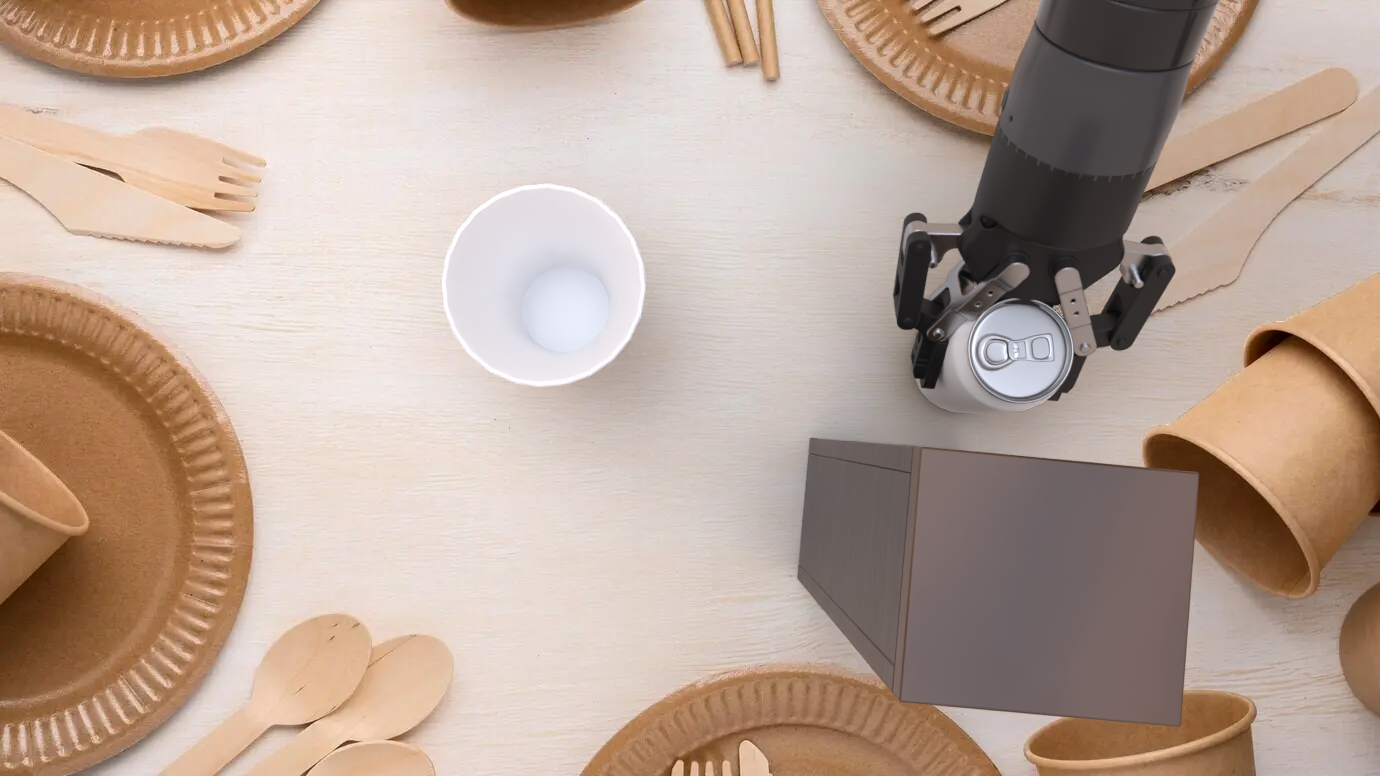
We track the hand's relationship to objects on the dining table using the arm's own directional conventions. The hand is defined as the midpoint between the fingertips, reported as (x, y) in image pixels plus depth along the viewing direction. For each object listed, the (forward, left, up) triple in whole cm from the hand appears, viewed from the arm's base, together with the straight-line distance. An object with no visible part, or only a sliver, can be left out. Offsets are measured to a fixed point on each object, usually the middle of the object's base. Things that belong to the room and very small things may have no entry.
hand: (986, 384), depth 61 cm
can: (0, -2, -6) cm, 7 cm away
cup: (+25, -3, -7) cm, 26 cm away
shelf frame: (+4, +8, -6) cm, 11 cm away
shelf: (+4, +8, +23) cm, 25 cm away
